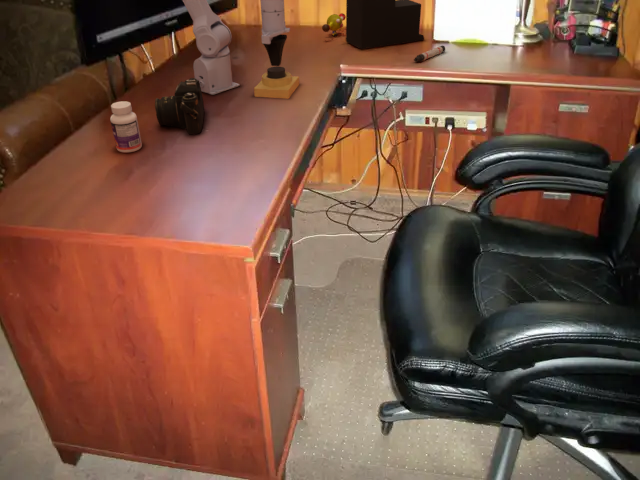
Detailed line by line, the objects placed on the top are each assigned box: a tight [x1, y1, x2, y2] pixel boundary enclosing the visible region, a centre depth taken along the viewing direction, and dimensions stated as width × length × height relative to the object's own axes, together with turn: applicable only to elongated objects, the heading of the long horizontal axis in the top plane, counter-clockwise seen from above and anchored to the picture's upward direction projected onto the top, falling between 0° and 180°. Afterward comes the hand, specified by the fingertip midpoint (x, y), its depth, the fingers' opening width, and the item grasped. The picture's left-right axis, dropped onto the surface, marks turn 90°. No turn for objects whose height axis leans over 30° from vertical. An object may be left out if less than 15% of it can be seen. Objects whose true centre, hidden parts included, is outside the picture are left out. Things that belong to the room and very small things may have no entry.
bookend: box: [345, 0, 425, 50], centre depth 194 cm, size 23×11×24 cm, turn 115°
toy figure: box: [321, 12, 346, 37], centre depth 206 cm, size 18×6×7 cm, turn 159°
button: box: [266, 66, 286, 79], centre depth 160 cm, size 5×5×2 cm
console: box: [253, 71, 300, 99], centre depth 161 cm, size 11×9×4 cm
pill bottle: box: [110, 100, 143, 153], centre depth 130 cm, size 5×5×10 cm
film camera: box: [154, 77, 205, 135], centre depth 141 cm, size 18×12×10 cm
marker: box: [413, 45, 446, 63], centre depth 183 cm, size 15×2×2 cm, turn 138°
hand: (276, 65), depth 158 cm, fingers closed
